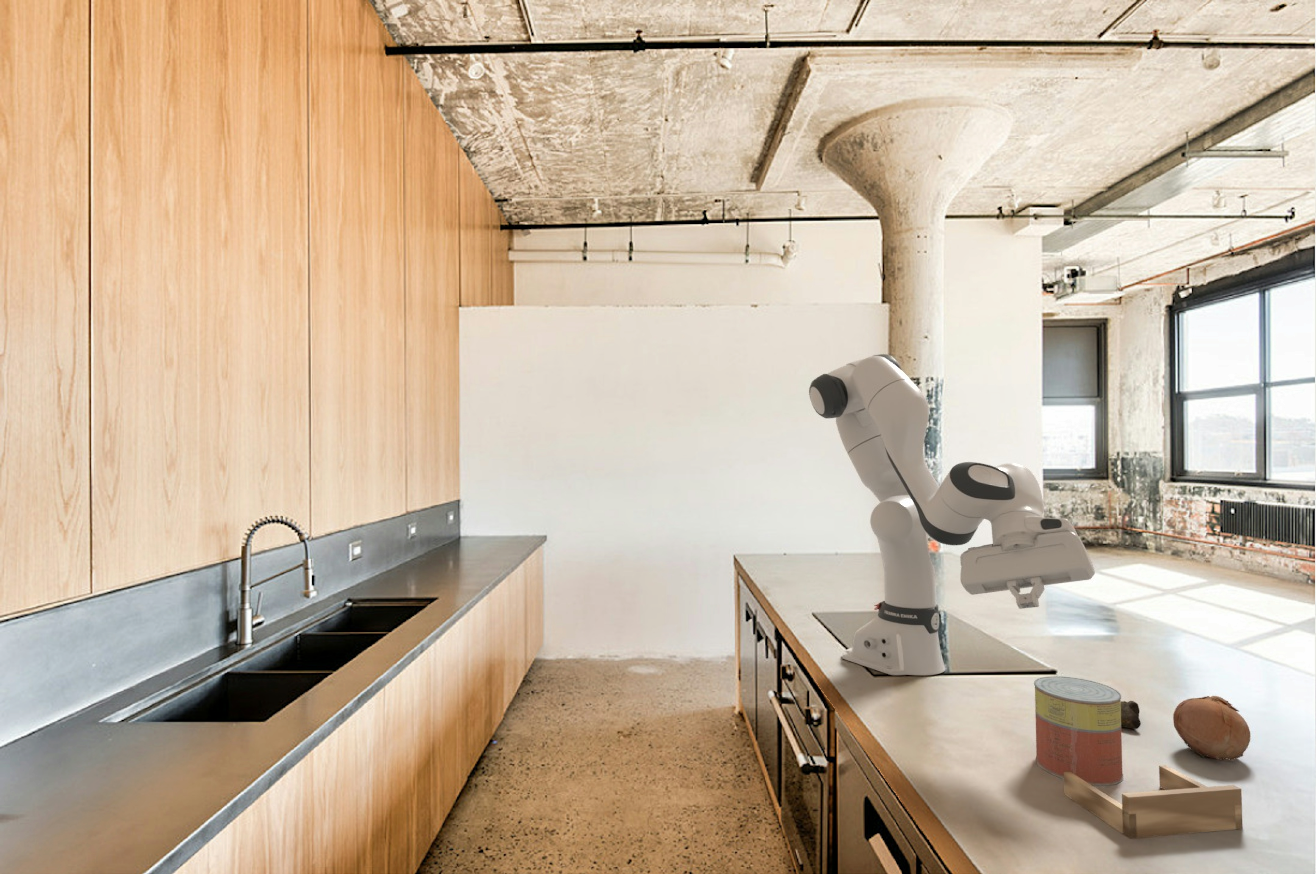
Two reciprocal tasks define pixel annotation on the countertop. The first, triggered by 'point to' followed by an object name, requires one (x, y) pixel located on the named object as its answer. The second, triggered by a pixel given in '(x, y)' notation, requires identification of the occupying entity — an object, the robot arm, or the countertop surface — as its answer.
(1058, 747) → the canned food
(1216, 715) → the onion
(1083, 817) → the countertop surface
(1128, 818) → the cradle
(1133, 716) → the claw
